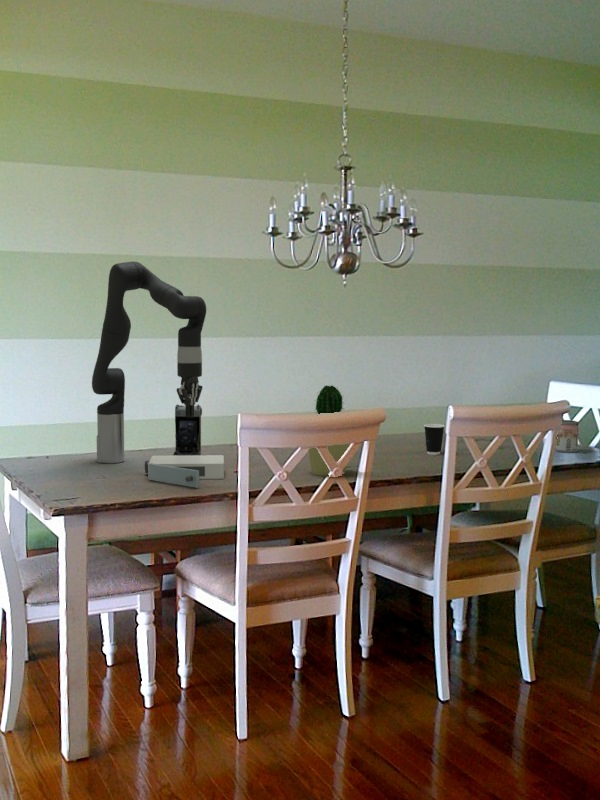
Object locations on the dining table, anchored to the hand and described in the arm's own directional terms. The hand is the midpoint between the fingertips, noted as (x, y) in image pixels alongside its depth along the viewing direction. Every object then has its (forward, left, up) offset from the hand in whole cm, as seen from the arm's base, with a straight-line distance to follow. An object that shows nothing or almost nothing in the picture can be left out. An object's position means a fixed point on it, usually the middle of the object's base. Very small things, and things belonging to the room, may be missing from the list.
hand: (189, 416), depth 269 cm
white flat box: (-2, +15, -21) cm, 26 cm away
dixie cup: (+90, +53, -21) cm, 107 cm away
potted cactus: (+45, +16, -21) cm, 53 cm away
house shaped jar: (+144, +57, -21) cm, 157 cm away
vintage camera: (-3, +41, -21) cm, 46 cm away
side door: (-6, -1, -21) cm, 21 cm away
